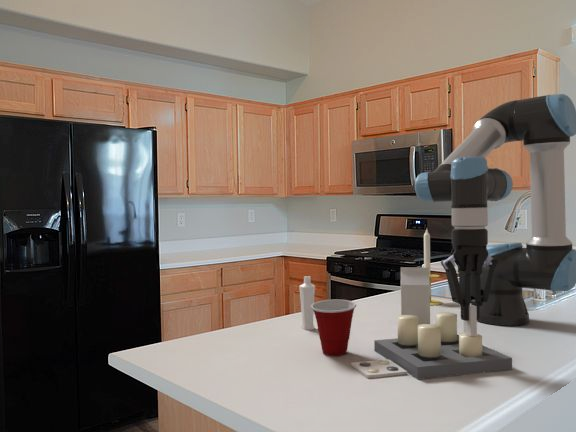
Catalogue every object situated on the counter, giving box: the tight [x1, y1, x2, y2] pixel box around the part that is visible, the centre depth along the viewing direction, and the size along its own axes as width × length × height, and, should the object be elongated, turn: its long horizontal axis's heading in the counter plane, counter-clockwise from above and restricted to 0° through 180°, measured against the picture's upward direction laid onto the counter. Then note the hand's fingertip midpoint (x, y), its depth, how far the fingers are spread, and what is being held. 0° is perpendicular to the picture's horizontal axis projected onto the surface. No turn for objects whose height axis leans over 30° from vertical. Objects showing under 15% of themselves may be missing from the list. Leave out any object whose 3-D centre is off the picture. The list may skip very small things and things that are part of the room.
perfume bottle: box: [298, 275, 316, 331], centre depth 151 cm, size 5×4×15 cm
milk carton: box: [400, 266, 431, 325], centre depth 136 cm, size 7×7×19 cm
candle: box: [423, 228, 443, 307], centre depth 186 cm, size 10×10×27 cm
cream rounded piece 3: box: [397, 314, 419, 345], centre depth 123 cm, size 5×5×6 cm
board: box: [373, 334, 513, 380], centre depth 119 cm, size 22×22×2 cm
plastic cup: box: [311, 298, 357, 357], centre depth 126 cm, size 11×11×12 cm
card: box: [351, 359, 408, 379], centre depth 112 cm, size 9×9×1 cm
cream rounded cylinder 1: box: [435, 311, 458, 342], centre depth 125 cm, size 5×5×6 cm
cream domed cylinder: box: [418, 323, 441, 357], centre depth 113 cm, size 5×5×6 cm
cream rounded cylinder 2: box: [458, 332, 483, 358], centre depth 115 cm, size 5×5×6 cm
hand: (470, 334), depth 115 cm, fingers closed
